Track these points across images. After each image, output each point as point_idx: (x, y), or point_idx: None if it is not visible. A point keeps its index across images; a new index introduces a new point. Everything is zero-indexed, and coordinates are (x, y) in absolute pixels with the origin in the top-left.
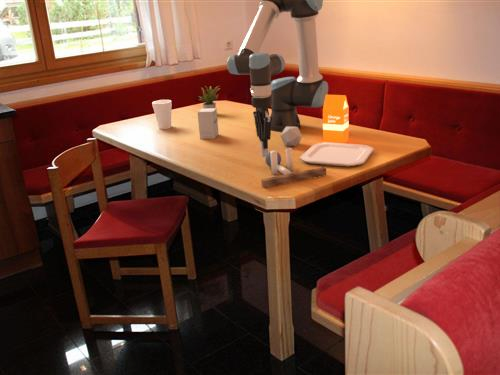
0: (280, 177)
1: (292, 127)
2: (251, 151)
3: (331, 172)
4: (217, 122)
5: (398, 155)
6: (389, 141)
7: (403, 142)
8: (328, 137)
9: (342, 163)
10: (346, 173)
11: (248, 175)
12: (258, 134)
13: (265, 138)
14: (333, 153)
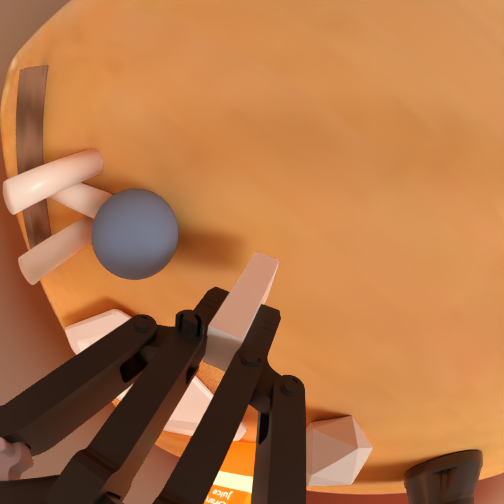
0: (17, 130)
1: (319, 483)
2: (444, 322)
3: (61, 284)
4: None
5: (113, 400)
6: (184, 449)
7: (167, 445)
8: (247, 457)
9: (71, 327)
10: (52, 294)
11: (138, 54)
12: (272, 394)
13: (126, 328)
14: None
